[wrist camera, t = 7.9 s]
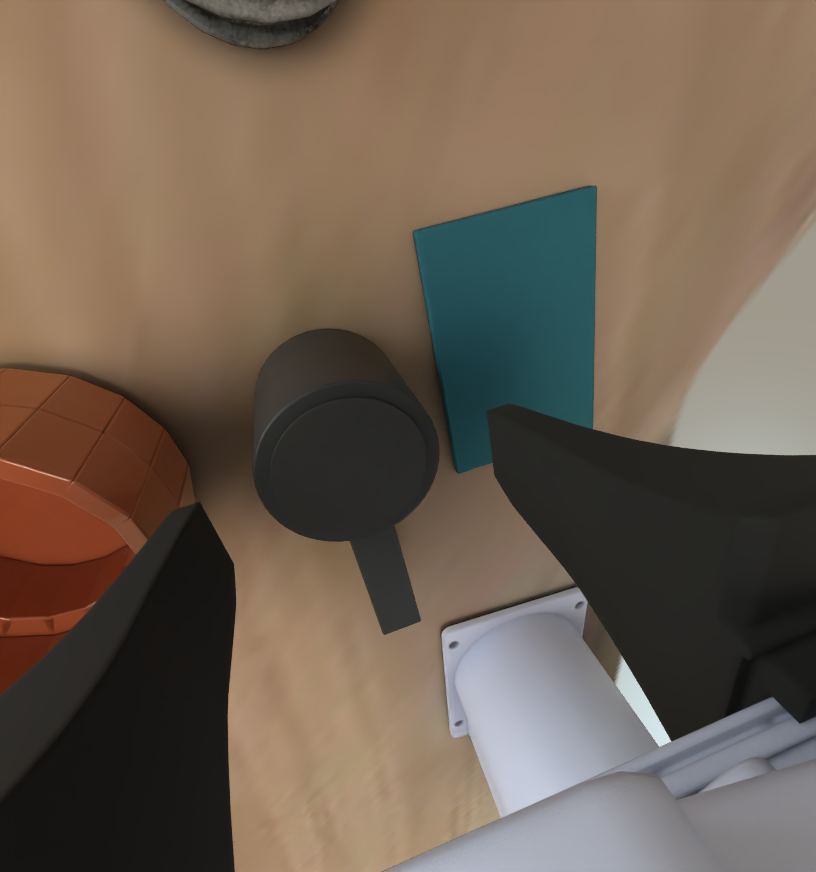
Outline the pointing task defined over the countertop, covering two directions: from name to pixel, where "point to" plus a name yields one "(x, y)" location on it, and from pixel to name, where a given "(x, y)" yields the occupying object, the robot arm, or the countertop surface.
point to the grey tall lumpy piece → (255, 19)
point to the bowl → (72, 504)
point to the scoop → (345, 455)
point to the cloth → (512, 314)
